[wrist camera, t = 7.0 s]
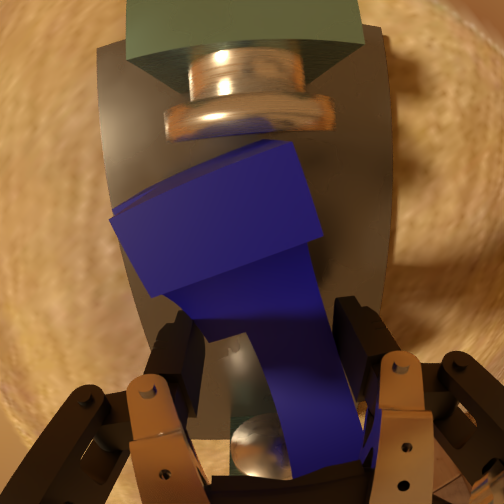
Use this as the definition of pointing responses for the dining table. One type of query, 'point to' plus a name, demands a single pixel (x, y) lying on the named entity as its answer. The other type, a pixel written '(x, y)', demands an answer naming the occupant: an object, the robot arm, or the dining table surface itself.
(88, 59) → the dining table surface
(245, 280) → the blue curved bracket
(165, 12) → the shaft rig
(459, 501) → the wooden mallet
